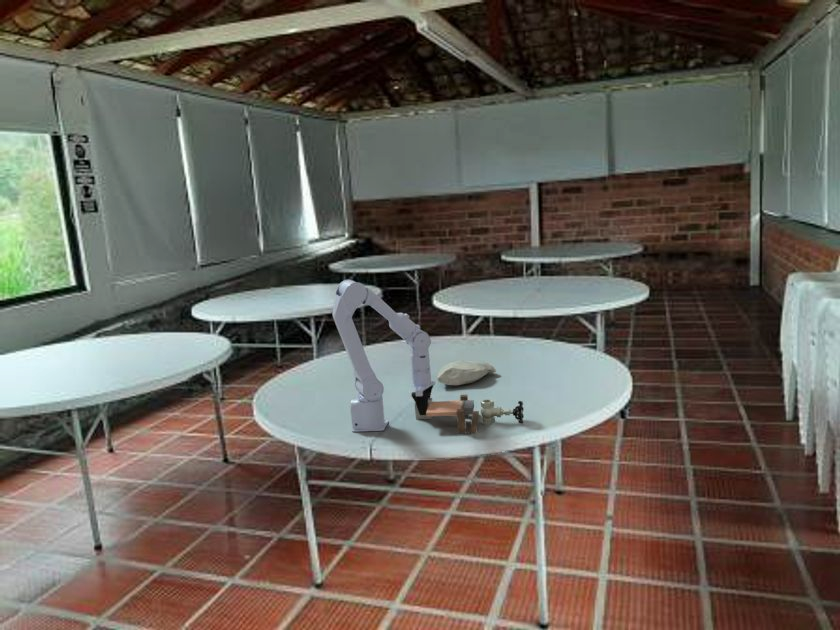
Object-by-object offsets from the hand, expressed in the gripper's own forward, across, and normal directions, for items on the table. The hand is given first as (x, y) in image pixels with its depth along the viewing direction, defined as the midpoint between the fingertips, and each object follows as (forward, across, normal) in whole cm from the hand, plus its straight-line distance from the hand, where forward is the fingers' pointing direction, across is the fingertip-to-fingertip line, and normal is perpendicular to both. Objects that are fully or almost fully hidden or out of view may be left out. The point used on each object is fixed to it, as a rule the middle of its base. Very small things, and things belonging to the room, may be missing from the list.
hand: (424, 411), depth 200 cm
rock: (+2, +37, -8) cm, 38 cm away
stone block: (+2, 0, 0) cm, 2 cm away
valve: (+2, -8, -24) cm, 25 cm away
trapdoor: (-3, -8, -9) cm, 12 cm away
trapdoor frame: (+1, -8, -14) cm, 16 cm away
